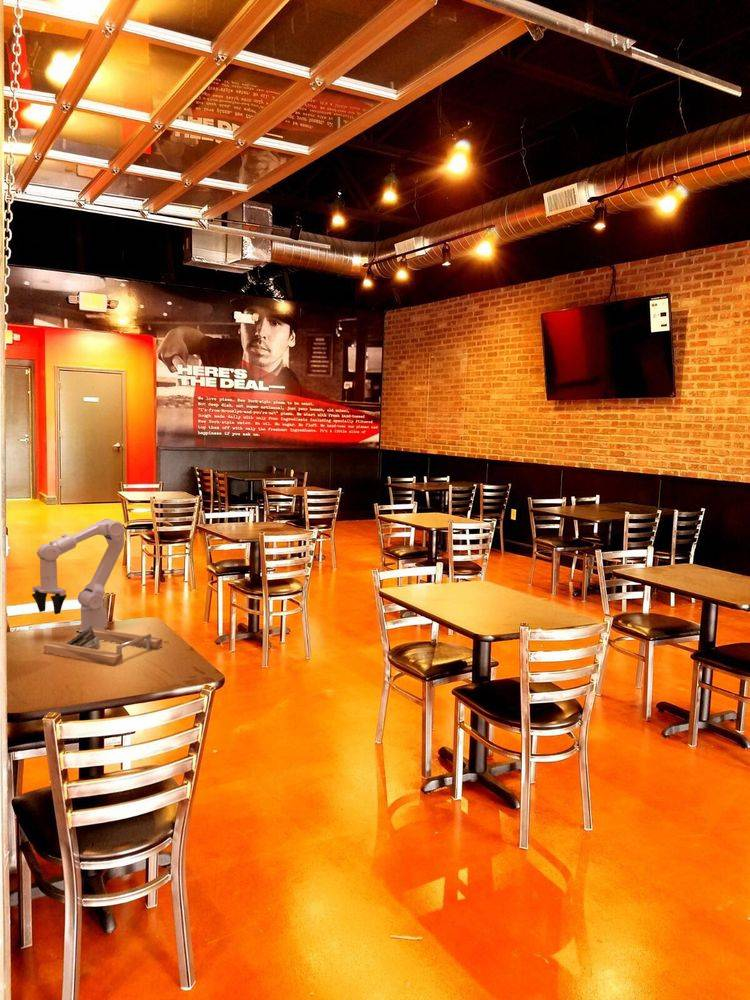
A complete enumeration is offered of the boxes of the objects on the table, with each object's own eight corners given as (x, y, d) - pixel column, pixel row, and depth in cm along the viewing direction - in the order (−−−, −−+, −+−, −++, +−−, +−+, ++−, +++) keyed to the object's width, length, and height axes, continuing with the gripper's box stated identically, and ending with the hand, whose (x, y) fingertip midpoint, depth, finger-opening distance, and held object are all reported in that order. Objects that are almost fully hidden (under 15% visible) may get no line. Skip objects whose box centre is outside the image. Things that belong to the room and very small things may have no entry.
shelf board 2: (95, 635, 282) (95, 627, 281) (162, 646, 269) (162, 638, 268) (87, 638, 278) (87, 630, 278) (154, 649, 265) (154, 641, 265)
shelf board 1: (52, 649, 264) (52, 641, 263) (122, 662, 250) (122, 654, 250) (43, 653, 260) (43, 644, 260) (113, 666, 247) (113, 657, 247)
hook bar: (149, 648, 266) (148, 633, 266) (151, 649, 266) (151, 634, 265) (116, 661, 252) (116, 645, 251) (119, 662, 251) (119, 646, 250)
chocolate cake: (71, 657, 258) (96, 630, 262) (60, 647, 261) (85, 621, 266) (87, 668, 265) (111, 642, 269) (76, 659, 269) (100, 633, 273)
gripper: (25, 576, 274) (26, 612, 275) (54, 580, 268) (56, 617, 270) (40, 573, 280) (41, 608, 282) (69, 576, 275) (70, 612, 276)
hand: (49, 612), depth 276 cm, fingers open, 7 cm apart
